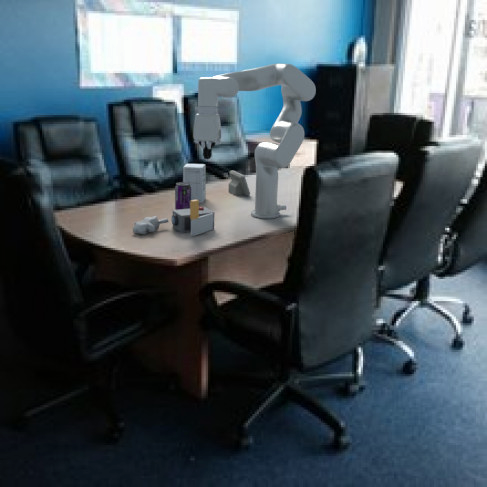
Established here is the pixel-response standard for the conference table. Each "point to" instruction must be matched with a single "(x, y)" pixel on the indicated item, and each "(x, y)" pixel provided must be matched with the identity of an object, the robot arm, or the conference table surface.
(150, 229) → the bunny figurine
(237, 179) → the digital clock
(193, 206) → the door
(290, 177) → the conference table surface
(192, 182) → the supplement box
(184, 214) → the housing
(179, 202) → the beverage can
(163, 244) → the conference table surface
